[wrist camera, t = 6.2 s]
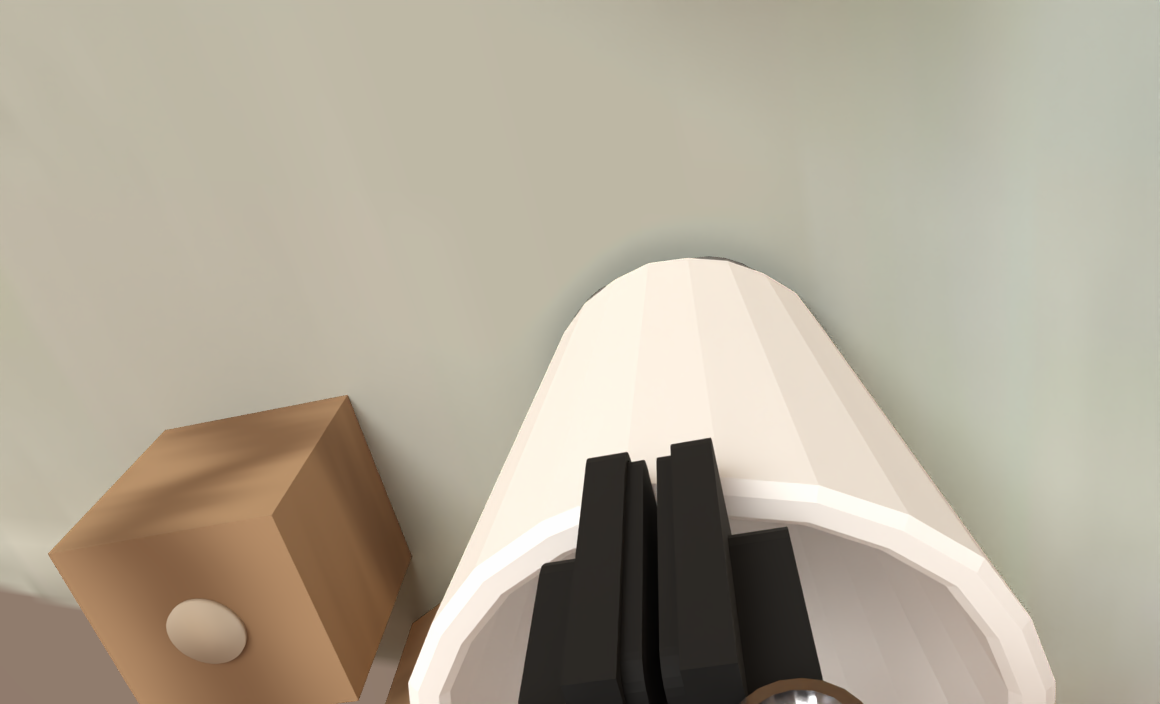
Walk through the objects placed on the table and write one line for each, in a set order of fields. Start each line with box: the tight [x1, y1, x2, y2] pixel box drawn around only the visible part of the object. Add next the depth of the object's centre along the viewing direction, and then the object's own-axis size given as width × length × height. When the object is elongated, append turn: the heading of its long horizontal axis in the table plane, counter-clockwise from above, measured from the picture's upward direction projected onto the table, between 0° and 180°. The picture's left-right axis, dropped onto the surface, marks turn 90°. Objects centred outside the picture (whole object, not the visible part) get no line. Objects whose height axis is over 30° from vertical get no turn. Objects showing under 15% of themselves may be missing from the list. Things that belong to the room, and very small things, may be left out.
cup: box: [408, 257, 1056, 704], centre depth 19 cm, size 10×10×13 cm
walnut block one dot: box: [48, 395, 412, 704], centre depth 25 cm, size 6×6×6 cm
